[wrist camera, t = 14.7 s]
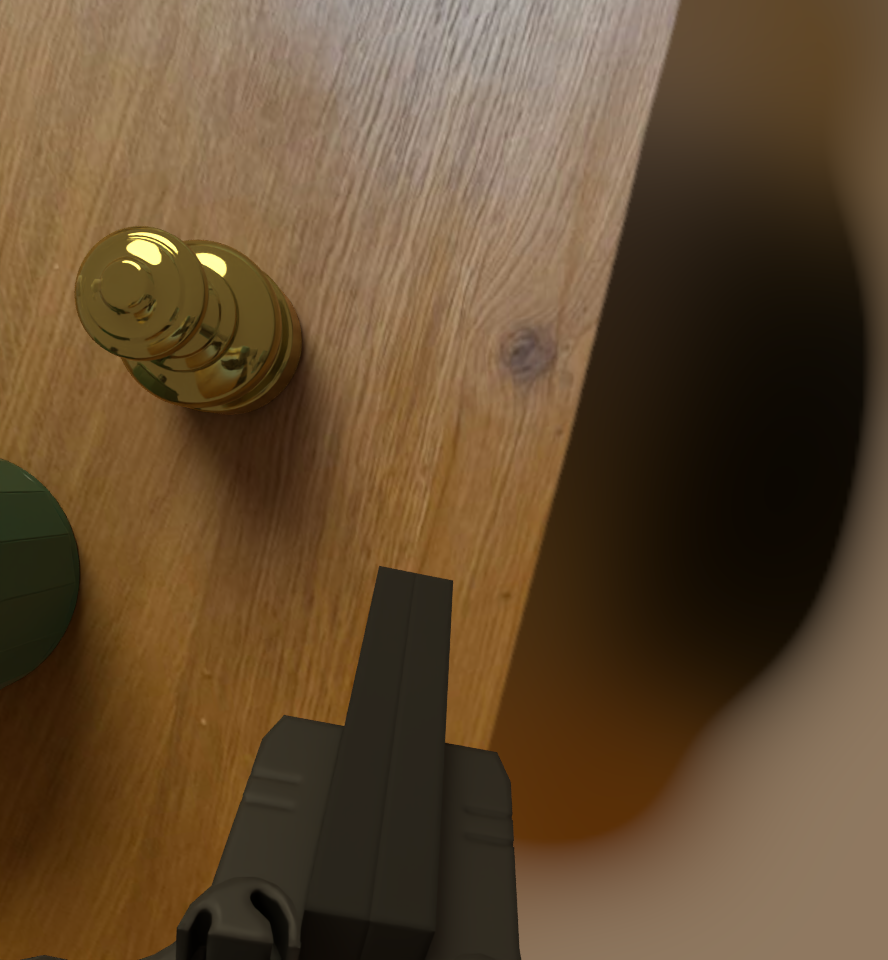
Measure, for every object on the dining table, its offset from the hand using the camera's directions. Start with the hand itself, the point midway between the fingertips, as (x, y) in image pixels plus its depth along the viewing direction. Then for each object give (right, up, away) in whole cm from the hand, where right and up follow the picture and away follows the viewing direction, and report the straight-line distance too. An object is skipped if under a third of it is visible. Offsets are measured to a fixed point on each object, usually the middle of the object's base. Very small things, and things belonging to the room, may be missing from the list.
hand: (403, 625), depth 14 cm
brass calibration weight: (-10, +10, +20) cm, 24 cm away
